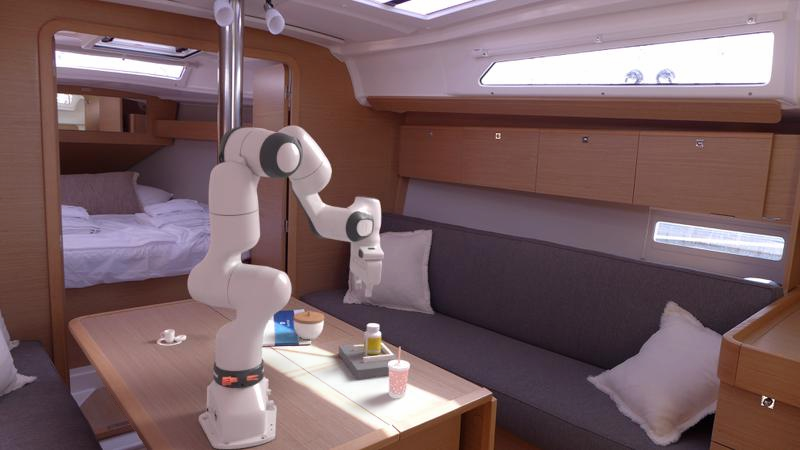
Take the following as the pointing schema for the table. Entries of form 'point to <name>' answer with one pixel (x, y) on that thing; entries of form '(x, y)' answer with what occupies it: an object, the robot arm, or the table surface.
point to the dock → (366, 361)
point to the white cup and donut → (171, 338)
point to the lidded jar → (308, 324)
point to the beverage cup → (398, 377)
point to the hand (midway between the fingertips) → (363, 292)
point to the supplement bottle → (372, 340)
